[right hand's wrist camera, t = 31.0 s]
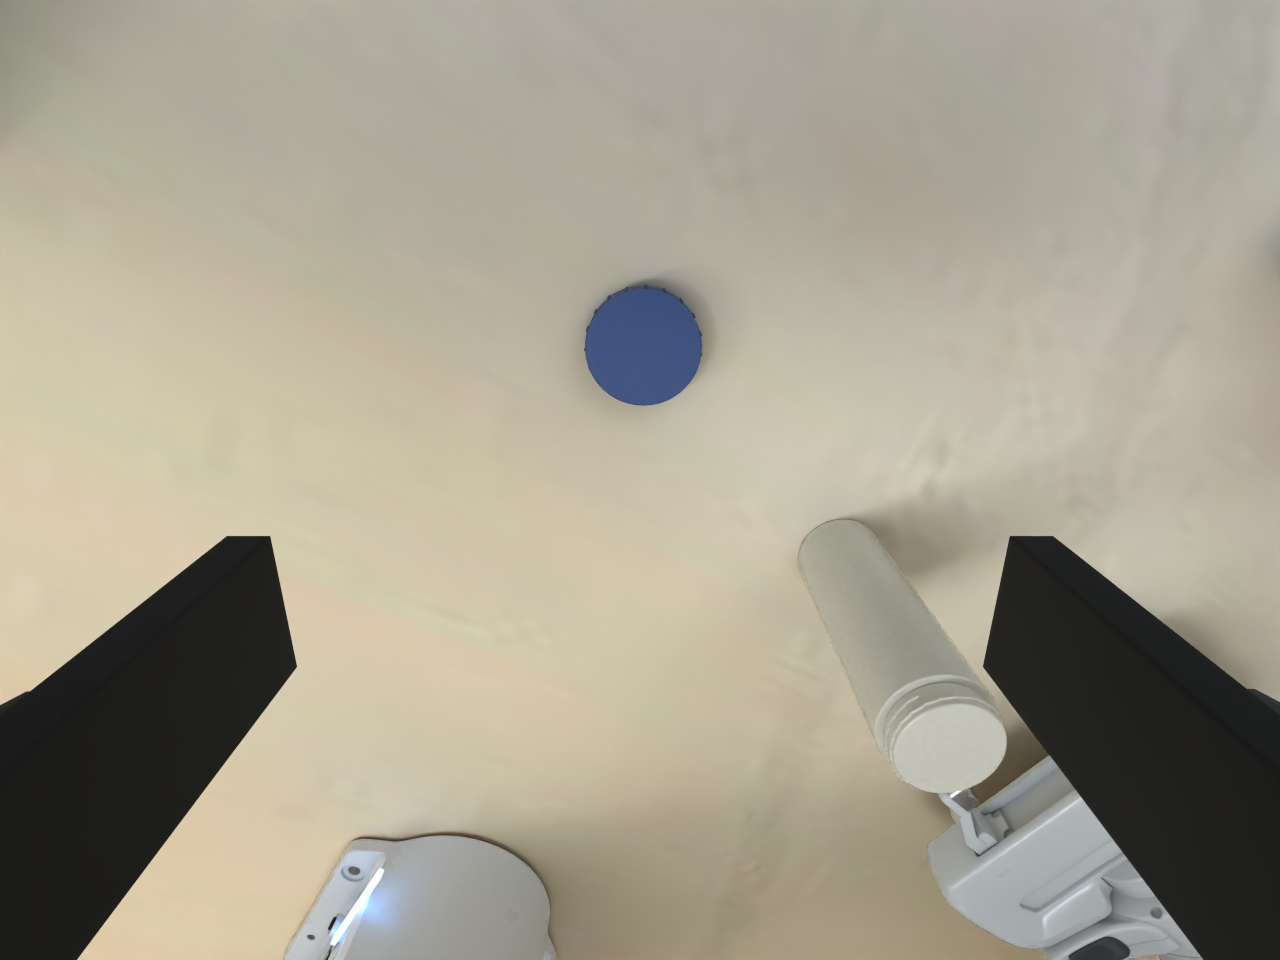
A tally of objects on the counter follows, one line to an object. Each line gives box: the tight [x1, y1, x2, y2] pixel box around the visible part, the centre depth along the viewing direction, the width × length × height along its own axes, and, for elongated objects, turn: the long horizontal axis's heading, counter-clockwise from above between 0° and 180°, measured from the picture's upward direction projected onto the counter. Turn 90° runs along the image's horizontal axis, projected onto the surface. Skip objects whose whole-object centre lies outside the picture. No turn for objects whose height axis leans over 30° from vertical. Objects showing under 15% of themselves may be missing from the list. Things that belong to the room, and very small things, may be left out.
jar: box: [798, 519, 1007, 793], centre depth 35 cm, size 5×5×17 cm
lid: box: [584, 284, 702, 405], centre depth 38 cm, size 6×6×2 cm
